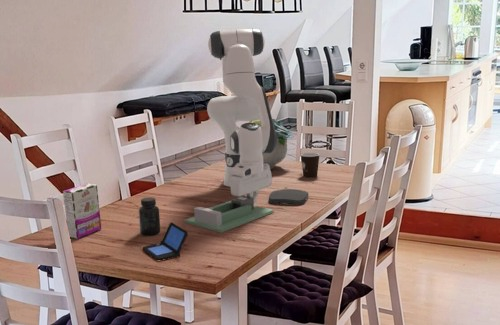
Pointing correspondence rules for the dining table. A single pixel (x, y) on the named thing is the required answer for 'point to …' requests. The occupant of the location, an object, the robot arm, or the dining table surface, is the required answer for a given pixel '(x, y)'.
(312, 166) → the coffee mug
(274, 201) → the media streaming box
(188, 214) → the dining table surface
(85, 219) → the candy bar box
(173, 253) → the handheld game console
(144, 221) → the supplement bottle
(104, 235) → the dining table surface
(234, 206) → the labelled grey storage bin
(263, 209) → the board
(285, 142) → the flower arrangement
